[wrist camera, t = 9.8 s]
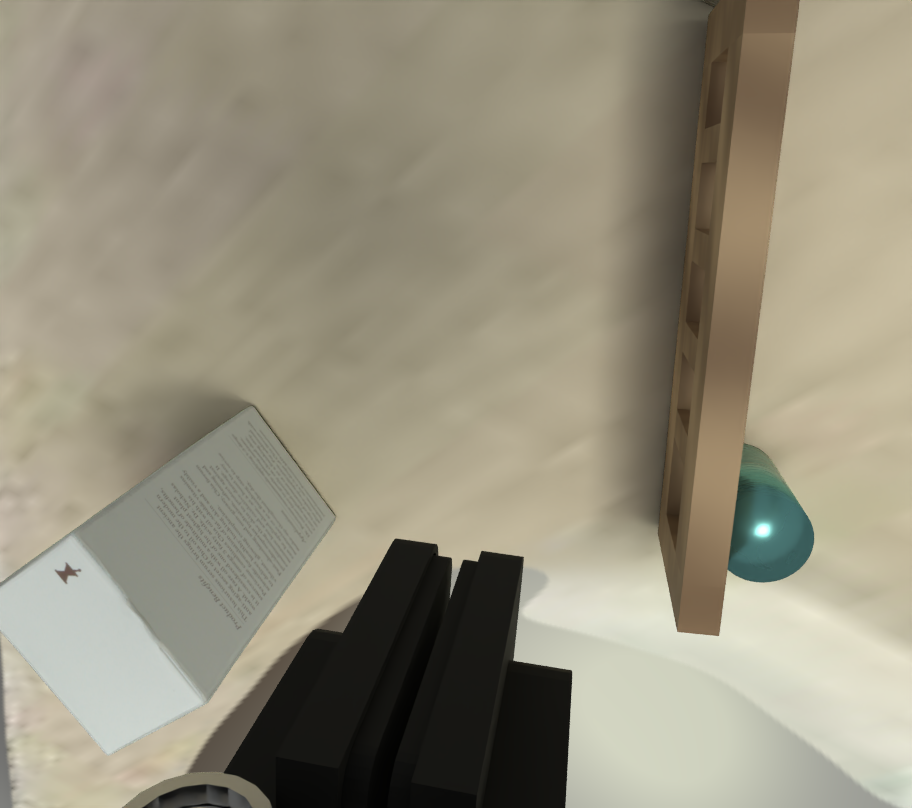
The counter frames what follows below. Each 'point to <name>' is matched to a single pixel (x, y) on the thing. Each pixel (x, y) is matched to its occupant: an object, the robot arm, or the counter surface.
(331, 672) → the robot arm
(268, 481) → the skincare box
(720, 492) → the gate
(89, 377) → the counter surface
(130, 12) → the counter surface
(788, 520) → the teal elongated shape
